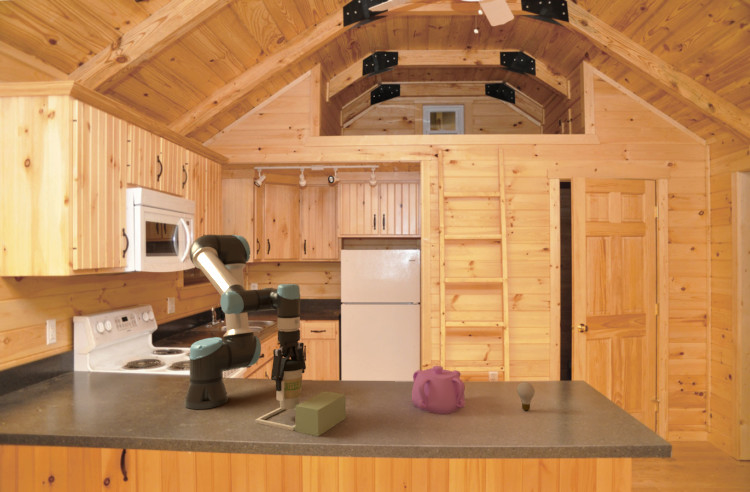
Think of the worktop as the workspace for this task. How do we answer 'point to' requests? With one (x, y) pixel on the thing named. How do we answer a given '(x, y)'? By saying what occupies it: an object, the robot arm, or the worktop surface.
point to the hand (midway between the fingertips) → (289, 396)
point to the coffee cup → (292, 384)
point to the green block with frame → (313, 414)
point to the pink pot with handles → (438, 390)
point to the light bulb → (525, 394)
